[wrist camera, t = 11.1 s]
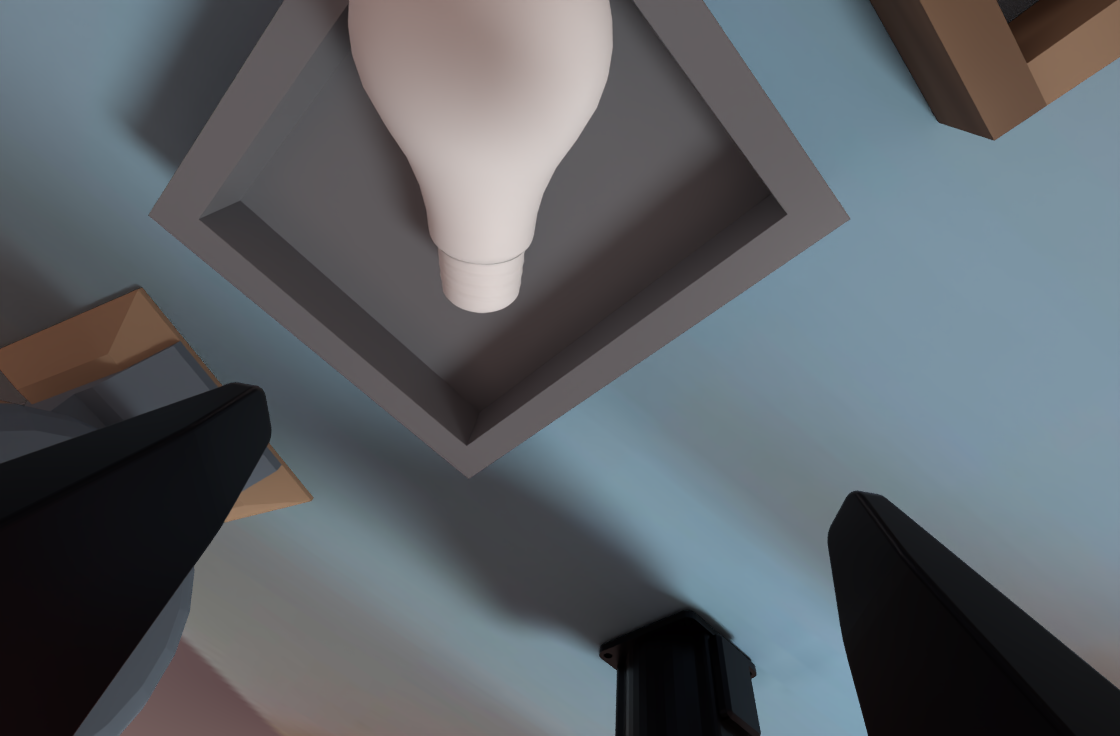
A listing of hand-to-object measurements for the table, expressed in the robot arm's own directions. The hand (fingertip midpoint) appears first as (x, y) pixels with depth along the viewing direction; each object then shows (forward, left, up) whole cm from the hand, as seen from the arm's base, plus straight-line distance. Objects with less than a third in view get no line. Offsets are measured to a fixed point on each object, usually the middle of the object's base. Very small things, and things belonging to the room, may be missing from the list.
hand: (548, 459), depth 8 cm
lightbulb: (-4, +1, -10) cm, 11 cm away
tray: (-2, +3, -13) cm, 13 cm away
